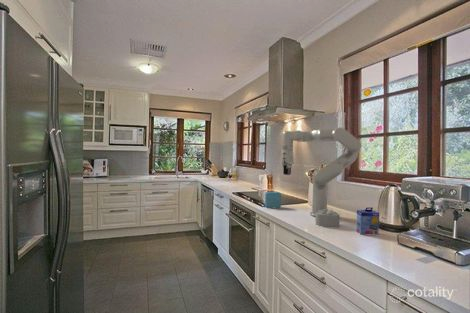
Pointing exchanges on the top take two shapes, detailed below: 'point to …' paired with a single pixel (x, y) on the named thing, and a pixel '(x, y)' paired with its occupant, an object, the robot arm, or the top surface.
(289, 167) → the connector casing
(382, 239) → the top surface
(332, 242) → the top surface
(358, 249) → the top surface
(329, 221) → the lumpy-topped squat cylinder
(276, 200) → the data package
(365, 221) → the ink cartridge box
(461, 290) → the top surface
